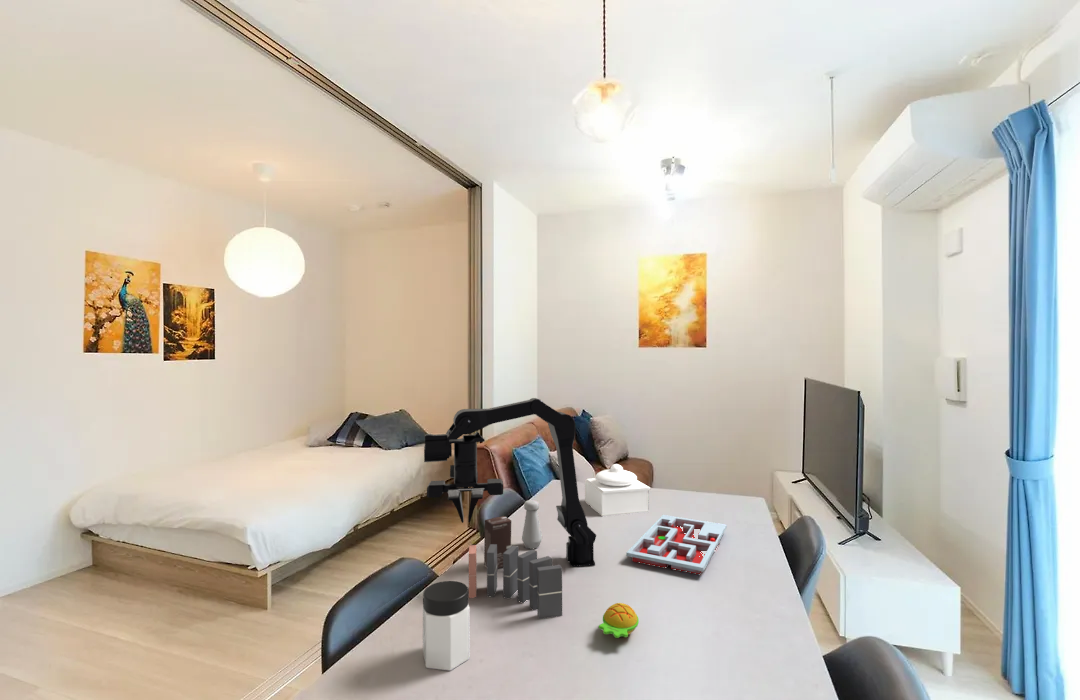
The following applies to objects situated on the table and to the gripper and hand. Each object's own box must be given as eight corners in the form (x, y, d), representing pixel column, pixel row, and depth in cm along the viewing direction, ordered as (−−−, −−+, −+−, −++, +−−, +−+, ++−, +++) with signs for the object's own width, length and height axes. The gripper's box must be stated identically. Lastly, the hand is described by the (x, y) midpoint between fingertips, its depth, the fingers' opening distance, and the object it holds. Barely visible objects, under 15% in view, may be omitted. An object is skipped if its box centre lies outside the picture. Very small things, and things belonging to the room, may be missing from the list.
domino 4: (537, 594, 113) (537, 551, 113) (523, 603, 109) (522, 558, 109) (531, 592, 114) (531, 549, 114) (517, 601, 110) (517, 556, 110)
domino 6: (562, 615, 104) (562, 567, 104) (539, 619, 102) (539, 570, 103) (560, 611, 105) (559, 564, 105) (537, 615, 104) (537, 567, 104)
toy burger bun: (643, 627, 99) (643, 600, 99) (628, 654, 90) (628, 625, 90) (610, 619, 102) (610, 593, 102) (593, 644, 93) (592, 616, 93)
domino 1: (476, 587, 117) (476, 545, 117) (476, 597, 112) (475, 553, 112) (469, 587, 117) (469, 545, 117) (468, 598, 112) (468, 553, 112)
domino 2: (497, 586, 117) (497, 544, 117) (494, 596, 112) (493, 552, 112) (490, 586, 117) (490, 544, 117) (487, 596, 112) (486, 552, 112)
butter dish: (585, 502, 184) (584, 459, 185) (629, 498, 189) (629, 457, 189) (601, 517, 167) (601, 470, 167) (650, 512, 172) (650, 467, 172)
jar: (450, 637, 96) (450, 575, 96) (479, 653, 91) (479, 588, 91) (412, 659, 89) (411, 592, 89) (440, 678, 84) (440, 607, 84)
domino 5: (552, 603, 109) (552, 558, 109) (533, 610, 106) (533, 563, 106) (548, 600, 110) (548, 555, 110) (529, 607, 107) (529, 561, 107)
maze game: (703, 581, 120) (703, 567, 120) (626, 564, 130) (626, 552, 130) (726, 535, 150) (726, 524, 151) (663, 524, 160) (662, 514, 160)
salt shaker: (544, 543, 143) (544, 499, 144) (538, 551, 138) (538, 504, 138) (526, 541, 145) (525, 497, 145) (518, 548, 140) (518, 502, 140)
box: (491, 571, 125) (491, 524, 125) (483, 565, 129) (483, 519, 129) (512, 566, 128) (512, 519, 129) (503, 560, 132) (503, 515, 132)
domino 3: (518, 589, 116) (518, 546, 116) (509, 599, 111) (509, 554, 111) (512, 588, 116) (512, 545, 116) (503, 597, 112) (502, 553, 112)
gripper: (501, 452, 133) (502, 510, 133) (431, 454, 131) (432, 513, 131) (503, 461, 122) (503, 524, 122) (426, 463, 120) (426, 528, 120)
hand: (466, 522), depth 124 cm, fingers closed
